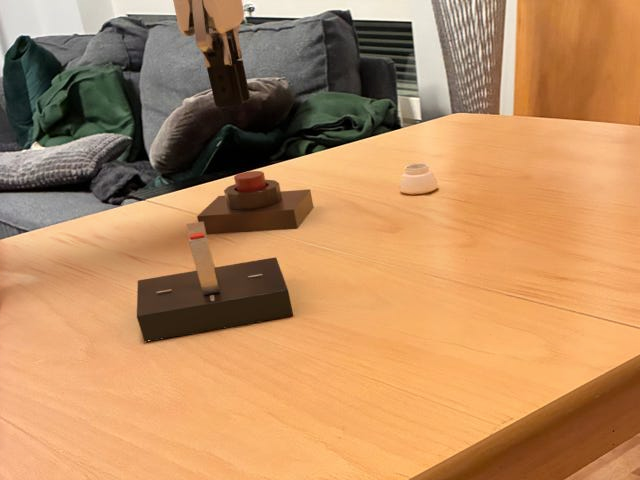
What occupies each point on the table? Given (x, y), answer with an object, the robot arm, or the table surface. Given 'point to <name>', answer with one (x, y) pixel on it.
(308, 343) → the table surface
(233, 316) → the lever switch base
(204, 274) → the grey switch lever
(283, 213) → the button block
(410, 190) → the white jar
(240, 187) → the button
